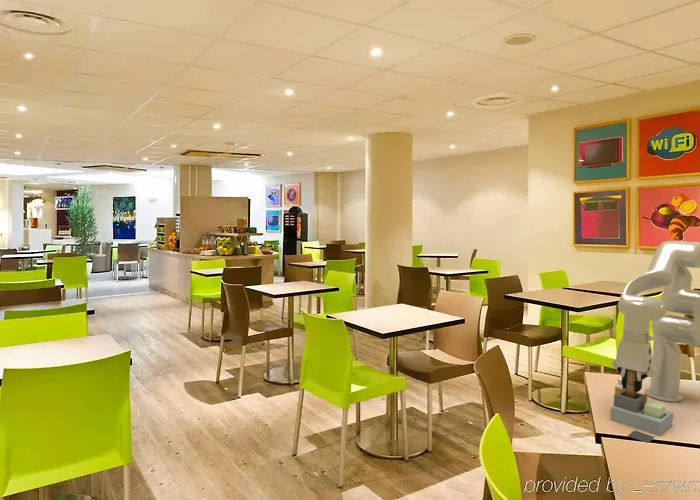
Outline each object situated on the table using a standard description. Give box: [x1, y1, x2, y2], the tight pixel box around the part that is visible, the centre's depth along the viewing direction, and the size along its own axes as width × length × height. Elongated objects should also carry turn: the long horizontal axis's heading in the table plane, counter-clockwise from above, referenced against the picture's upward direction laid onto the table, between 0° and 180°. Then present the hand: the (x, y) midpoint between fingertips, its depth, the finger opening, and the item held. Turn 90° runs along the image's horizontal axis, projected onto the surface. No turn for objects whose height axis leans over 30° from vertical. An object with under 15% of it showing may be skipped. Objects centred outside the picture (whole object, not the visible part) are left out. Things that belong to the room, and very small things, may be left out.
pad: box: [627, 430, 655, 444], centre depth 161 cm, size 6×6×1 cm
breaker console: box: [609, 389, 674, 437], centre depth 171 cm, size 12×15×9 cm
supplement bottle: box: [614, 376, 626, 394], centre depth 188 cm, size 5×5×10 cm
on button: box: [644, 400, 666, 419], centre depth 168 cm, size 5×5×5 cm
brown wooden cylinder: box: [625, 369, 637, 399], centre depth 173 cm, size 3×3×14 cm
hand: (631, 388), depth 173 cm, fingers closed on brown wooden cylinder, 3 cm apart
